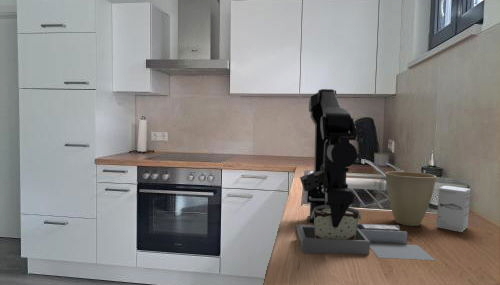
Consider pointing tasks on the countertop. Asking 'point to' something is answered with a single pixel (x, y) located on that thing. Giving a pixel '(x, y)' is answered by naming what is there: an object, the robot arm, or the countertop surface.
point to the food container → (326, 229)
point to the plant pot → (409, 195)
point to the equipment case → (331, 242)
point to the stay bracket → (384, 235)
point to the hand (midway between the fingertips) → (332, 223)
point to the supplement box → (453, 208)
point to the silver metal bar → (380, 227)
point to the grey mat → (400, 251)
